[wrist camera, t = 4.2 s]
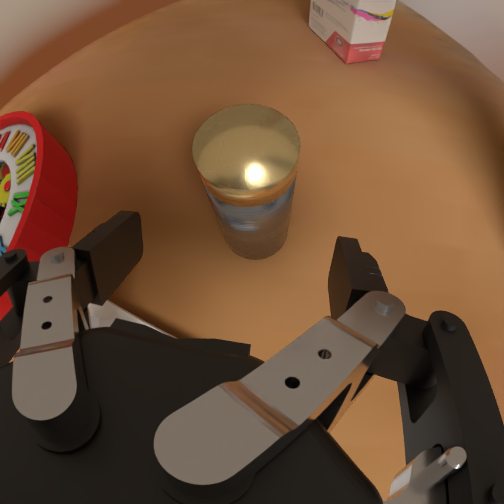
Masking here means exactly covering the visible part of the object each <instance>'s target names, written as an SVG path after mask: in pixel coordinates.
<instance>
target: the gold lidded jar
mask: <svg viewBox="0 0 504 504" xmlns="http://www.w3.org/2000/svg"><path fill="white" fill-rule="evenodd" d="M299 152H300V138H299V135H298V132H297V130H296V128H295V126H294V125H293V123H292V122H291V121H290V120H289V119H288V118H287V117H286V116H284V115H283V114H282V113H280V112H278V111H276V110H274V109H272V108H269V107H266V106H262V105H255V104H243V105H236V106H232V107H228V108H225V109H223V110H221V111H219V112H217V113H215V114H213V115H212V116H211V117H209V118H208V119H207V120H206V121H205V122H204V123H203V124H202V125H201V126H200V128H199V129H198V131H197V133H196V135H195V137H194V140H193V146H192V153H193V158H194V161H195V164H196V167H197V169H198V172H199V174H200V177H201V179H202V182H203V184H204V187H205V189H206V192H207V194H208V197H209V199H210V202H211V204H212V207H213V209H214V212H215V214H216V217H217V219H218V222H219V224H220V227H221V229H222V232H223V234H224V237H225V239H226V242H227V244H228V245H229V247H230V248H231V249H232V250H233V251H234V252H235V253H236V254H238V255H239V256H241V257H244V258H247V259H254V260H257V259H264V258H267V257H269V256H271V255H273V254H275V253H276V252H277V251H278V250H279V249H280V248H281V247H282V245H283V244H284V242H285V240H286V236H287V231H288V225H289V219H290V212H291V206H292V199H293V193H294V186H295V180H296V173H297V166H298V159H299Z"/></svg>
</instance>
